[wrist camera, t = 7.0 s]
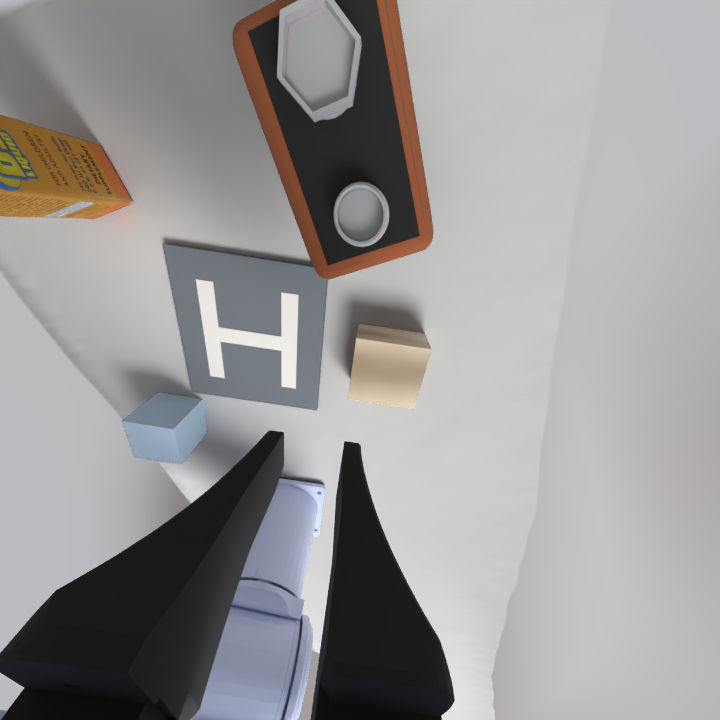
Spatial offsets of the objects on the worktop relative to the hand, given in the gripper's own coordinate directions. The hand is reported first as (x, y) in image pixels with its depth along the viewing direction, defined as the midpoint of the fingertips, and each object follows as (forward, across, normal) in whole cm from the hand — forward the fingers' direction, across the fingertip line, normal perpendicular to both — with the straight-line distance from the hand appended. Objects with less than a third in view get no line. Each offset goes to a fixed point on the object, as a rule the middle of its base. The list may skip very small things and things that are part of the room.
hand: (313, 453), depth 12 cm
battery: (+11, 0, -11) cm, 15 cm away
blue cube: (+10, +14, +9) cm, 20 cm away
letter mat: (+10, +7, 0) cm, 13 cm away
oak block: (+11, -4, 0) cm, 11 cm away
